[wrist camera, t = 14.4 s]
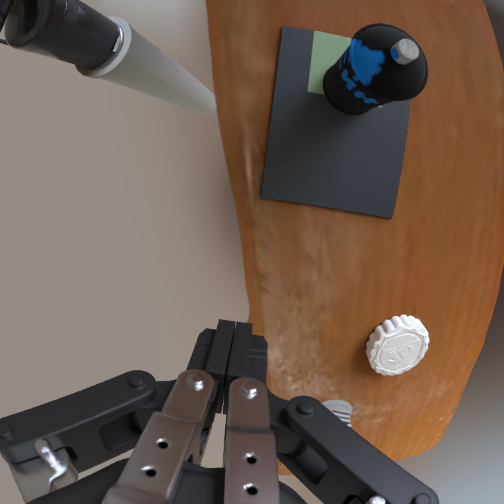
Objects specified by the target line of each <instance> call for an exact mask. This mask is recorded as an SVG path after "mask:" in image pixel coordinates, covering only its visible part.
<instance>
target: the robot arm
mask: <svg viewBox="0 0 504 504" xmlns="http://www.w3.org/2000/svg"><path fill="white" fill-rule="evenodd" d="M4 23H5V28H4V34H5V39H6V40H3V39H0V43H3V44H6V45H9V46H11V47H12V48H15V49H19V50H23V51H27V52H32V53H36V54H40V55H43V56H47V57H51V58H54V59H58V60H61V61H65V62H68V63H72V64H75V65H78V66H81V67H83V68H85V69H89V70H98V69H102V68H104V67H106V66H107V65H109V64H110V63H111V62H112V61H113V60H114V59H115V58H116V57H117V56H118V54H119V53H120V51H121V49H122V47H123V43H124V32H123V29H122V28H121V26H119V25H118V24H117V23H115V22H113V21H111V20H110V19H108V18H107V17H105V16H103V15H102V14H100V13H99V12H97V11H96V10H94V9H92V8H91V7H89V6H88V5H86V4H84V3H83V2H81V1H79V0H0V32H1V30H2V28H3V26H4ZM252 326H253V324H250V323H242V322H237V323H236V328H235V321H228V320H221V319H220V320H219V323H218V326H217V329H216V330H214V329H208V328H206V329H205V330H204V331H203V332H201V333H200V334H199V336H198V339H197V343H196V345H195V348H194V351H193V353H192V356H191V359H190V361H189V364H188V367H187V370H186V371H184V372H182V373H181V374H180V375H179V376H178V378H177V379H176V380H172V381H155V379H154V377H153V376H152V375H151V374H149V373H148V372H145V371H141V370H133V371H129V372H126V373H124V374H122V375H119V376H117V377H114V378H112V379H109V380H107V381H104V382H102V383H99V384H96V385H94V386H91V387H89V388H86V389H84V390H81V391H79V392H76V393H73V394H70V395H68V396H65V397H62V398H59V399H57V400H54V401H51V402H48V403H45V404H43V405H40V406H37V407H34V408H31V409H28V410H25V411H22V412H19V413H16V414H13V415H10V416H7V417H3V418H1V419H0V453H1V455H2V457H3V458H4V459H5V461H6V462H7V463H8V464H9V467H10V469H11V472H12V474H13V477H14V479H15V482H16V484H17V486H18V489H19V491H20V493H21V495H22V497H23V500H24V501H25V504H307V503H306V502H305V501H304V500H303V499H302V498H301V497H300V496H299V495H298V494H297V493H296V492H295V491H294V490H293V489H292V488H290V487H289V486H287V485H286V484H284V483H282V482H280V481H279V478H278V466H277V458H278V459H279V460H280V461H281V462H282V463H283V464H284V465H285V466H286V467H287V468H288V469H289V470H290V471H291V472H292V473H293V474H294V475H295V476H296V477H297V478H298V479H299V480H300V481H301V482H302V483H303V484H304V485H305V486H306V487H307V488H308V489H309V490H310V491H311V492H312V493H313V494H314V495H315V496H316V497H317V498H319V500H321V501H322V502H323V503H324V504H439V500H438V497H437V494H436V493H435V492H434V491H433V490H432V489H431V488H429V487H428V486H426V485H425V484H424V483H422V482H421V481H419V480H418V479H417V478H415V477H414V476H413V475H411V474H410V473H408V472H407V471H406V470H404V469H403V468H402V467H400V466H399V465H397V464H396V463H395V462H394V461H392V460H391V459H390V458H388V457H387V456H386V455H384V454H383V453H382V452H381V451H379V450H378V449H377V448H375V447H374V446H373V445H372V444H370V443H369V442H368V441H367V440H365V439H364V438H363V437H362V436H360V435H359V434H358V433H357V432H355V431H354V430H353V429H352V428H350V427H349V426H348V425H347V424H345V423H344V422H343V421H342V420H341V419H339V418H338V417H337V416H336V415H335V414H333V413H332V412H331V411H330V410H329V409H328V408H326V407H325V406H324V405H323V404H322V403H320V402H319V401H318V400H316V399H315V398H312V397H309V396H298V397H295V398H293V399H291V400H290V401H287V400H284V399H281V398H279V397H277V396H275V395H274V394H272V393H271V392H270V391H269V389H268V388H267V385H266V371H267V342H266V340H265V339H264V337H263V336H257V335H252ZM234 332H235V333H234ZM223 400H224V406H223ZM222 406H223V414H226V415H227V416H226V425H225V436H224V453H223V468H204V467H201V466H200V465H201V461H202V457H203V454H204V451H205V448H206V445H207V442H208V438H209V435H210V432H211V429H212V424H213V421H214V417H215V413H220V414H221V411H222ZM133 448H134V450H133V452H132V454H131V456H130V458H126V459H122V460H119V461H117V462H115V463H113V464H111V465H109V466H107V467H105V468H103V469H101V470H99V471H97V472H95V473H93V474H91V475H89V476H87V477H84V478H82V479H80V480H78V481H77V479H78V473H80V472H83V471H85V470H88V469H90V468H92V467H94V466H97V465H99V464H101V463H103V462H106V461H107V460H109V459H112V458H114V457H116V456H118V455H120V454H122V453H125V452H127V451H129V450H131V449H133Z"/></svg>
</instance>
